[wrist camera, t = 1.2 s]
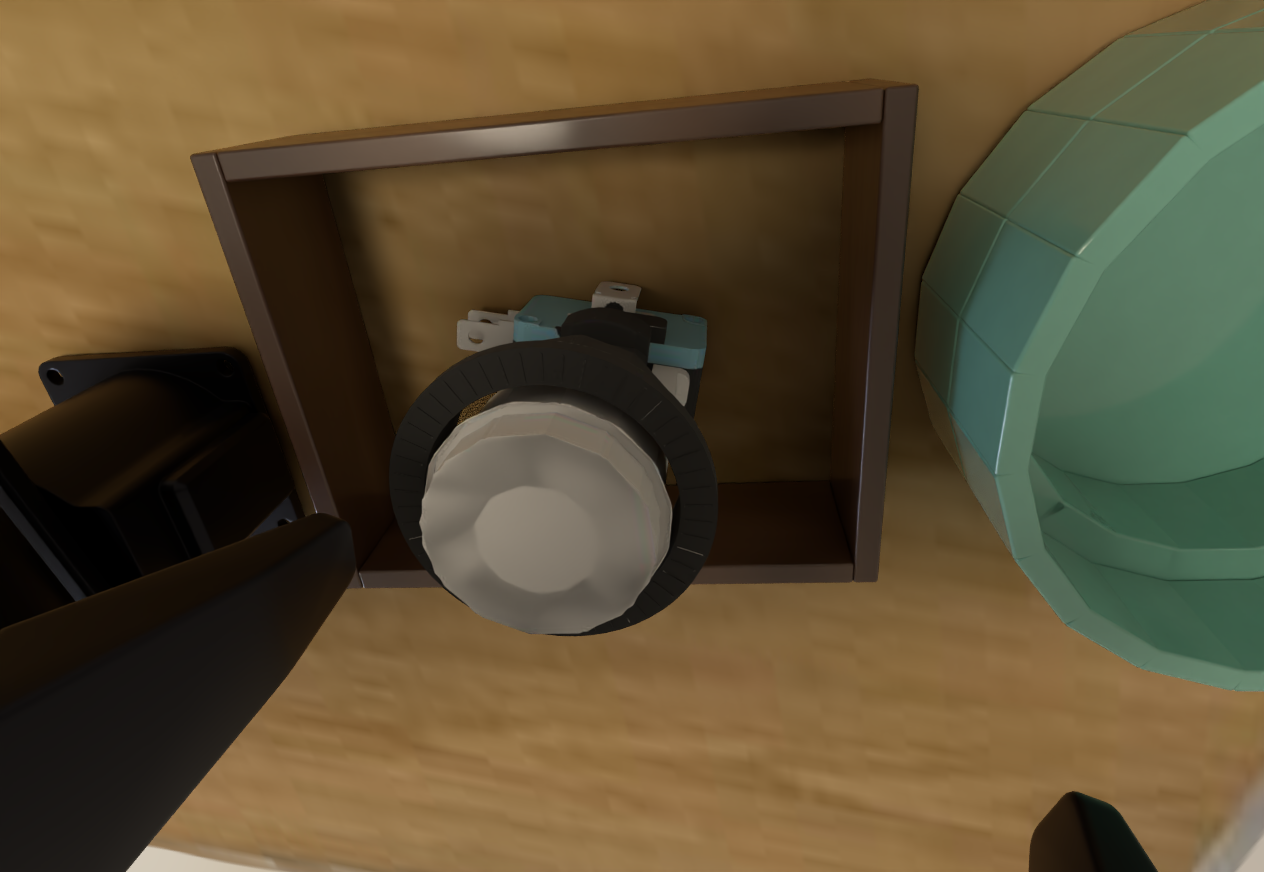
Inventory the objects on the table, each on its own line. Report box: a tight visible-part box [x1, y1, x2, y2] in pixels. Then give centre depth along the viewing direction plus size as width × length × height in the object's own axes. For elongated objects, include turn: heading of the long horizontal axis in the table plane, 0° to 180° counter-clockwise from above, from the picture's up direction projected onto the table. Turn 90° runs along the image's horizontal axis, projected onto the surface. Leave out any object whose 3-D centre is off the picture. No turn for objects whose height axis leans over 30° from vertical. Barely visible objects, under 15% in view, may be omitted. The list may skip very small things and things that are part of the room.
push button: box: [389, 281, 718, 636], centre depth 15 cm, size 7×5×10 cm
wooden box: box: [190, 79, 919, 588], centre depth 18 cm, size 14×11×4 cm
